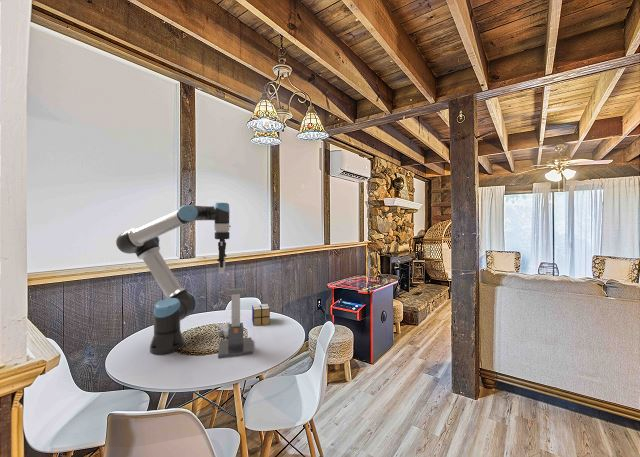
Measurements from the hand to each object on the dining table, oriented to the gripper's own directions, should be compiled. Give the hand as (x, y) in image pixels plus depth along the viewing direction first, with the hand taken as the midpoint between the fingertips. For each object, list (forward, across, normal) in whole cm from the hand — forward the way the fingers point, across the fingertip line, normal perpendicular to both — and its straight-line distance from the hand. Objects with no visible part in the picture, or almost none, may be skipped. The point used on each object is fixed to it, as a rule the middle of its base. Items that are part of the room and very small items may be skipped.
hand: (222, 271), depth 154 cm
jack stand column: (+29, -14, -7) cm, 33 cm away
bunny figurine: (+37, +7, -1) cm, 38 cm away
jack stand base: (+37, -14, -7) cm, 40 cm away
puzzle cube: (+37, +19, -22) cm, 47 cm away
